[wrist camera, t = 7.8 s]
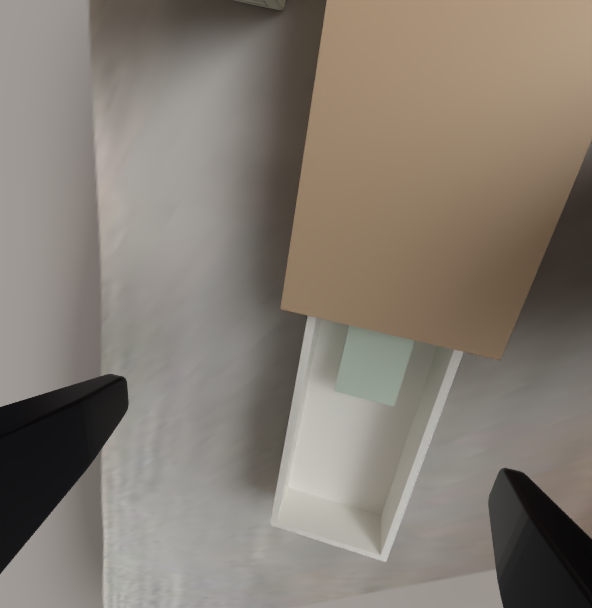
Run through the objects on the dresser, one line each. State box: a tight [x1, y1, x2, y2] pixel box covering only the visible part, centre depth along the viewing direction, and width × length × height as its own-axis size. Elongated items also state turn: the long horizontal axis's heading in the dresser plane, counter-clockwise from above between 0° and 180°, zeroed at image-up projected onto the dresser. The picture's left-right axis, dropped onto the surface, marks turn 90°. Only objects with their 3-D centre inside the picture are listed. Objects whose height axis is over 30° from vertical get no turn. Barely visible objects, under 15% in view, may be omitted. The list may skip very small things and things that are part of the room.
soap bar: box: [334, 325, 415, 406], centre depth 19 cm, size 3×5×2 cm, turn 171°
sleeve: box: [280, 0, 592, 360], centre depth 14 cm, size 9×16×4 cm, turn 171°
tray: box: [270, 316, 464, 562], centre depth 20 cm, size 7×16×3 cm, turn 171°
